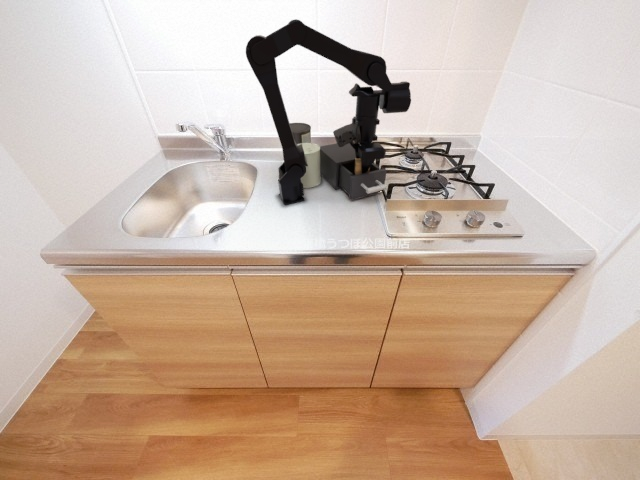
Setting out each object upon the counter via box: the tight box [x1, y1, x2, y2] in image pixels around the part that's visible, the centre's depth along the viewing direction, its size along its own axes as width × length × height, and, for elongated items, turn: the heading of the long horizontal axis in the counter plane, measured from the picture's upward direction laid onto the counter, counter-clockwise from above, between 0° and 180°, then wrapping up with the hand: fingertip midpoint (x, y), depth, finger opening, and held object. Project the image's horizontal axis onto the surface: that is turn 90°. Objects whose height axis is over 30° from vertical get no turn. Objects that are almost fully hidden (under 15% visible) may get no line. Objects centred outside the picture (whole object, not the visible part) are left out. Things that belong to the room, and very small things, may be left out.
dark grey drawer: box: [338, 162, 388, 201], centre depth 77 cm, size 18×11×7 cm, turn 23°
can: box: [297, 142, 322, 189], centre depth 82 cm, size 9×9×12 cm
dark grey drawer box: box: [319, 142, 356, 190], centre depth 85 cm, size 15×13×9 cm
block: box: [354, 158, 370, 175], centre depth 75 cm, size 4×4×4 cm
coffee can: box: [289, 122, 312, 144], centre depth 91 cm, size 10×10×14 cm
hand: (361, 170), depth 75 cm, fingers closed on block, 4 cm apart
